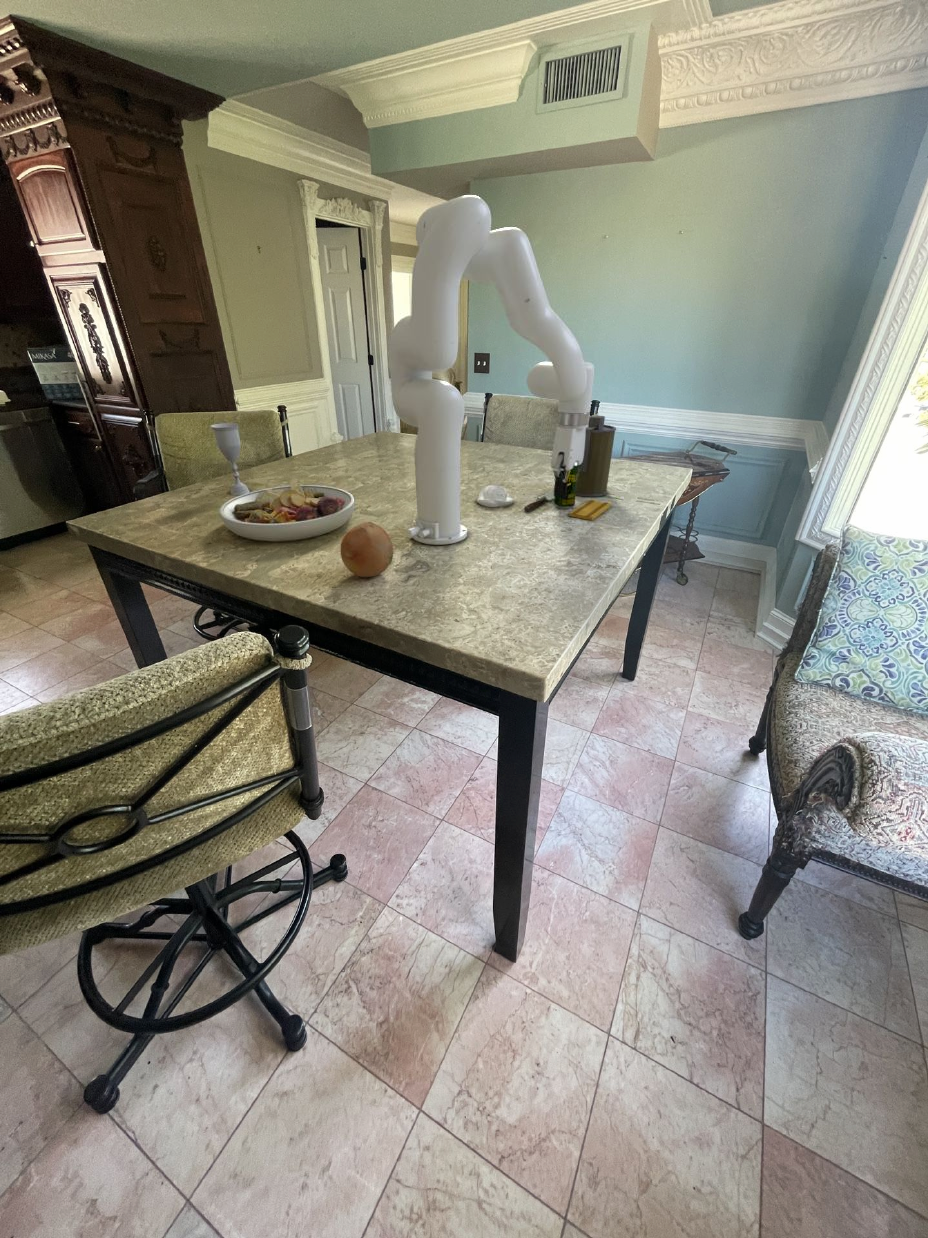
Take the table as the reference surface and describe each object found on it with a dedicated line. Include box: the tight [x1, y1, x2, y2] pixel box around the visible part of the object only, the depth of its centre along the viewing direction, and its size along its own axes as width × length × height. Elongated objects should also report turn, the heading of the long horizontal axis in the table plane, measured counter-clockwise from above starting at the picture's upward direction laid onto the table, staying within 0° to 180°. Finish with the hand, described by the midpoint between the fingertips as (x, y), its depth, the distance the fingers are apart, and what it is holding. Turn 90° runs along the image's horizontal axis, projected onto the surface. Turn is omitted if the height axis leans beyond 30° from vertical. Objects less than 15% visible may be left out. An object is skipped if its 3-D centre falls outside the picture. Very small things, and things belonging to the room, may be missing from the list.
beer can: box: [553, 460, 579, 510], centre depth 128 cm, size 5×5×12 cm
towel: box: [568, 499, 612, 521], centre depth 127 cm, size 13×6×1 cm, turn 146°
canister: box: [576, 415, 617, 498], centre depth 137 cm, size 11×10×20 cm
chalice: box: [210, 422, 251, 496], centre depth 137 cm, size 7×7×18 cm
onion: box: [340, 521, 394, 579], centre depth 92 cm, size 10×10×10 cm
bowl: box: [219, 484, 356, 542], centre depth 118 cm, size 30×30×8 cm
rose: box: [476, 484, 514, 508], centre depth 133 cm, size 10×4×10 cm
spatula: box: [523, 491, 555, 512], centre depth 132 cm, size 17×4×1 cm, turn 146°
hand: (565, 493), depth 129 cm, fingers open, 6 cm apart
